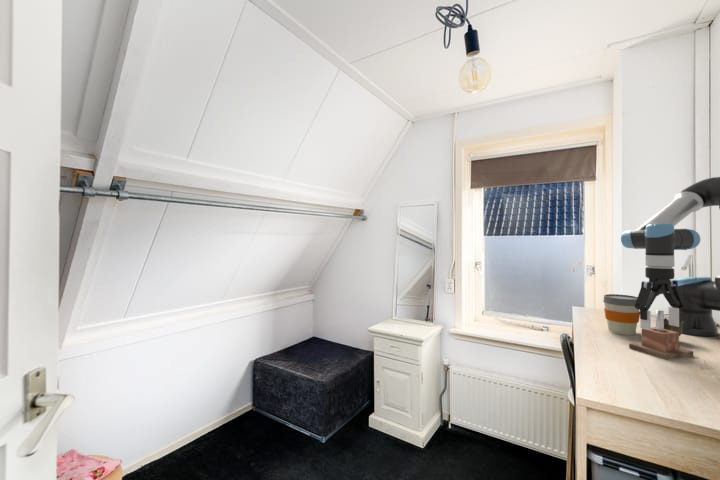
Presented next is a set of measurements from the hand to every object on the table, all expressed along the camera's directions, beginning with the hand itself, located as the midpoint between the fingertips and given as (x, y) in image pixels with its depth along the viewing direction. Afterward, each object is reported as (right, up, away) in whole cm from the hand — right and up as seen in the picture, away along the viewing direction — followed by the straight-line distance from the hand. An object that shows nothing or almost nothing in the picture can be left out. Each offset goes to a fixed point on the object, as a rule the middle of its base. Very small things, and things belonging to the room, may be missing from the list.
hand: (659, 327), depth 114 cm
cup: (+16, -9, +12) cm, 22 cm away
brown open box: (0, -7, 0) cm, 7 cm away
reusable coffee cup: (+6, -9, +24) cm, 27 cm away
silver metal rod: (0, -7, 0) cm, 7 cm away
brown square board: (0, -9, 0) cm, 9 cm away
